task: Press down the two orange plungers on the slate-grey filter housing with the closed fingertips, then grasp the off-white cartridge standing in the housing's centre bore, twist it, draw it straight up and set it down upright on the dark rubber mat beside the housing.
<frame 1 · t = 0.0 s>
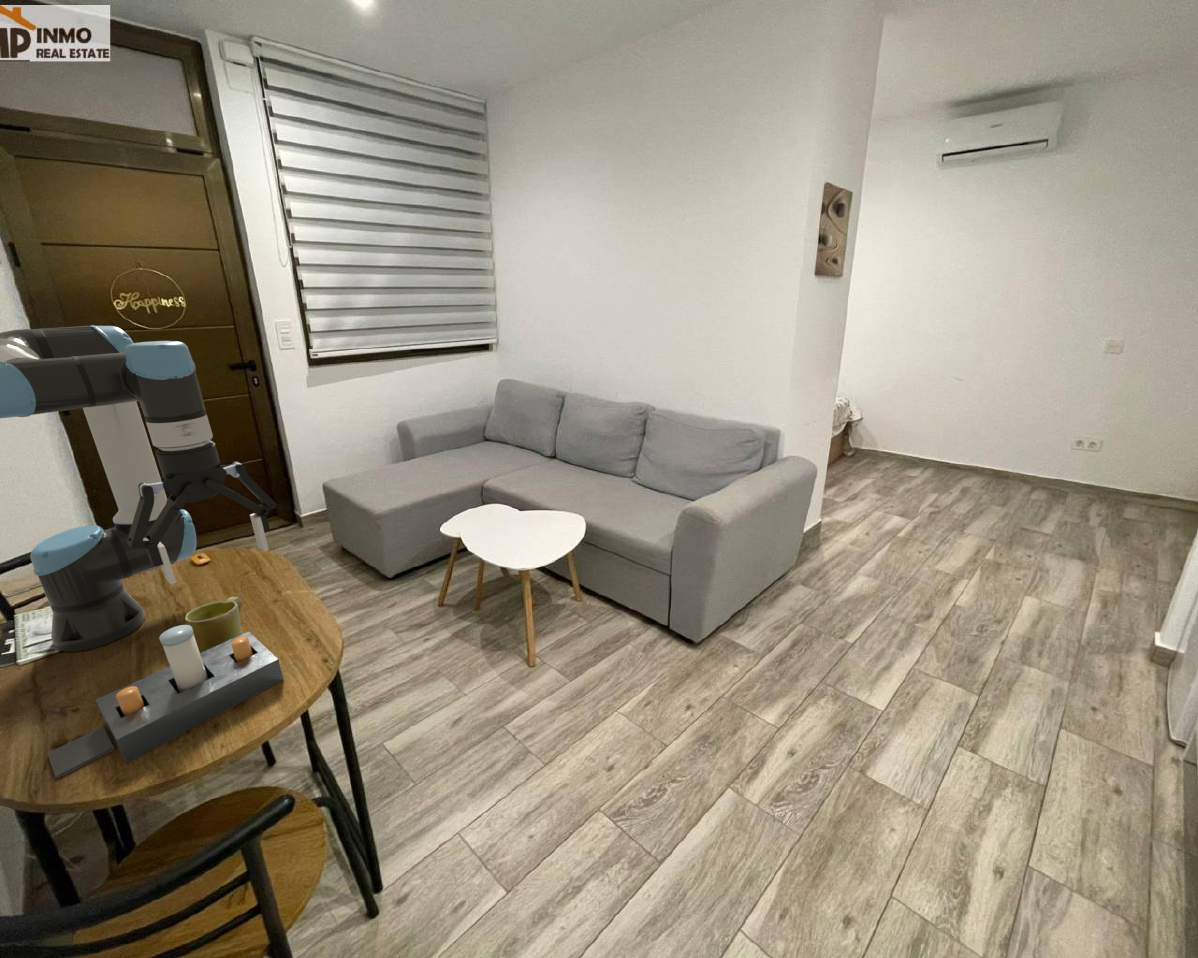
hand: (219, 564, 89), 28 cm above the table, fingers open, 13 cm apart
housing: (198, 699, 97), on the table
cartridge: (199, 699, 97), resting in housing
plunger near: (132, 705, 89), point 5 cm above the table, slide at 0.0 cm
mat: (81, 752, 86), on the table
mug: (225, 638, 115), on the table
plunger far: (243, 653, 102), point 5 cm above the table, slide at 0.0 cm
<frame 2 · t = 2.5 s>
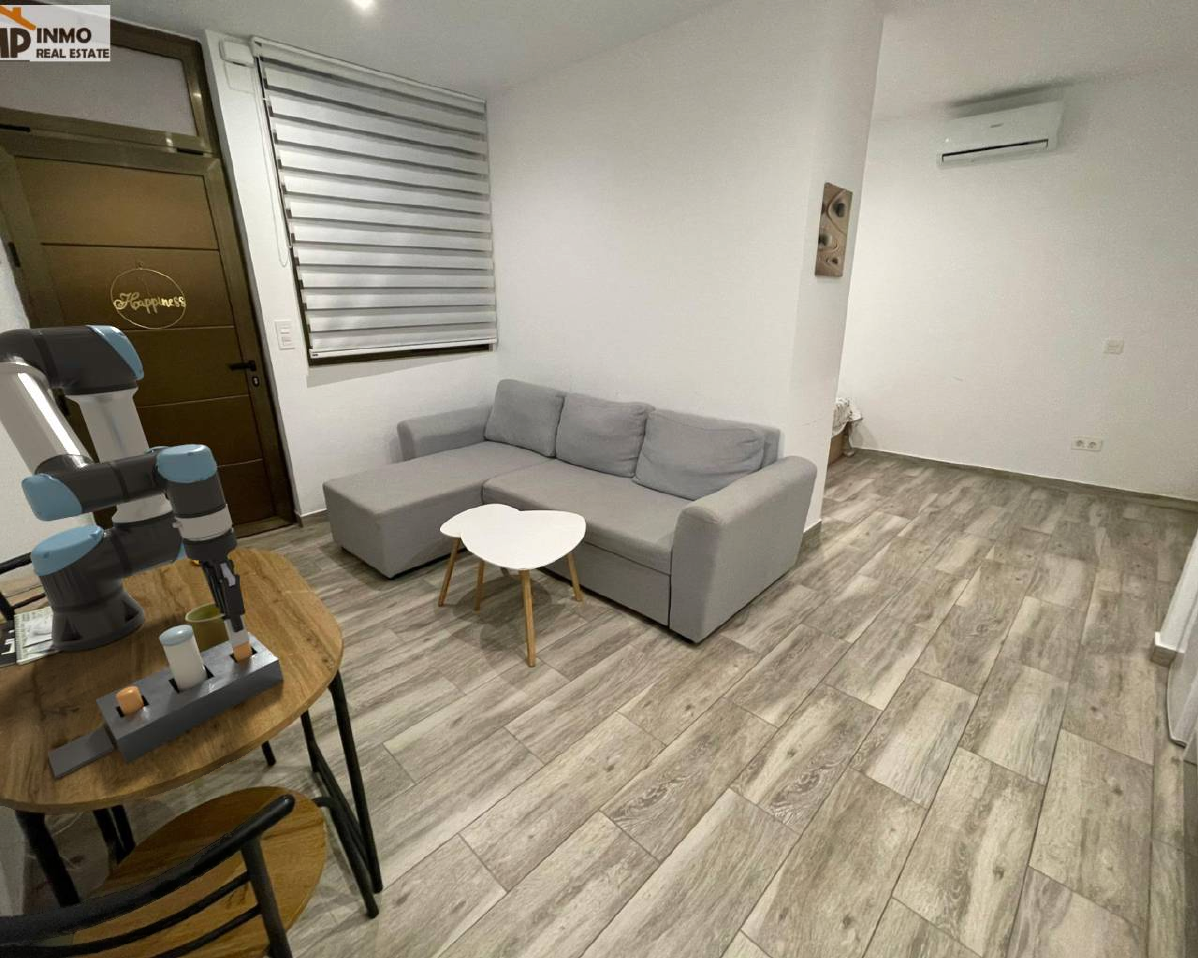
hand: (240, 642, 101), 8 cm above the table, fingers closed
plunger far: (243, 655, 102), point 5 cm above the table, slide at -0.5 cm, touching gripper
everything else where it was.
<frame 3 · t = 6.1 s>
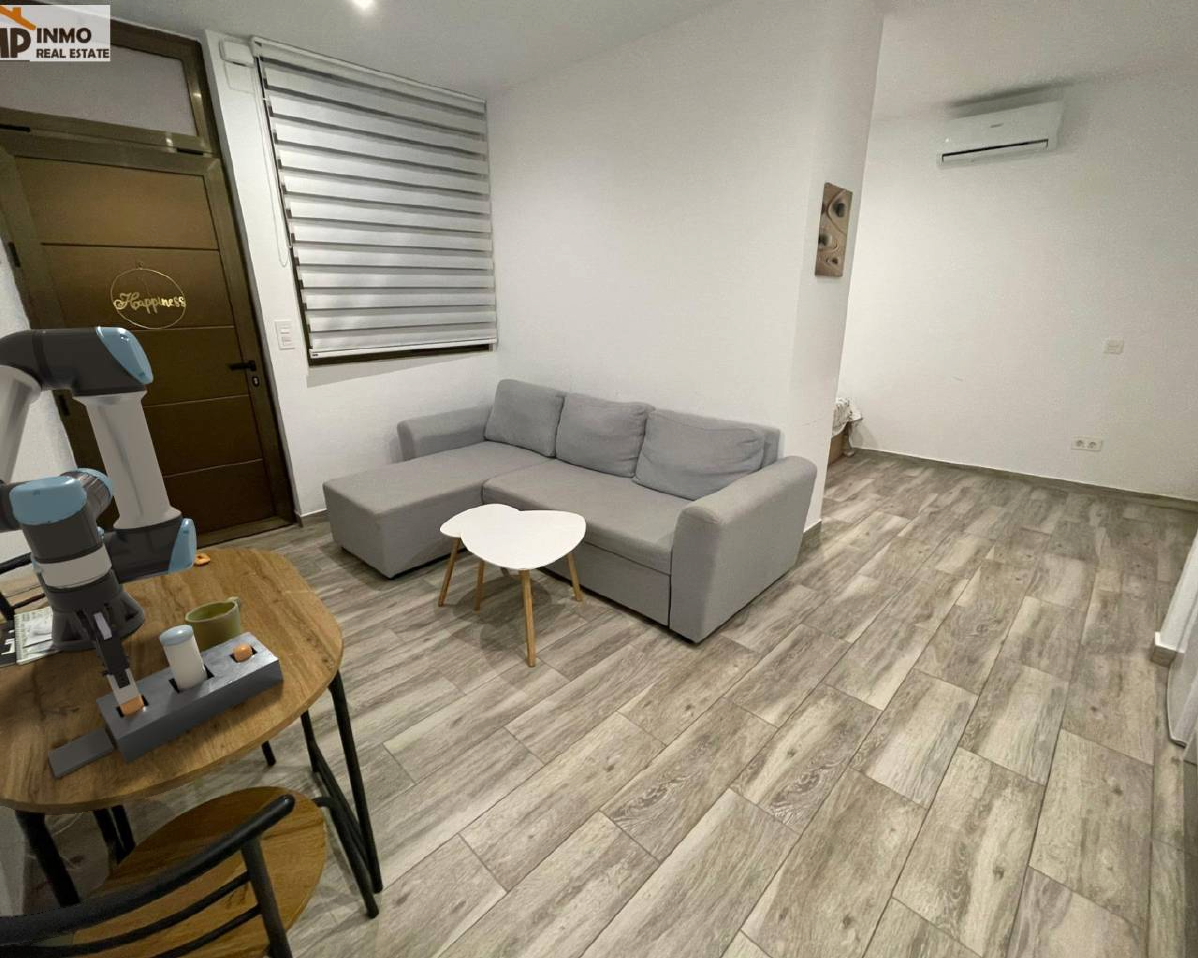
hand: (128, 698, 89), 7 cm above the table, fingers closed
plunger near: (134, 712, 90), point 4 cm above the table, slide at -1.4 cm, touching gripper
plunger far: (245, 660, 103), point 3 cm above the table, slide at -1.8 cm
everything else where it was.
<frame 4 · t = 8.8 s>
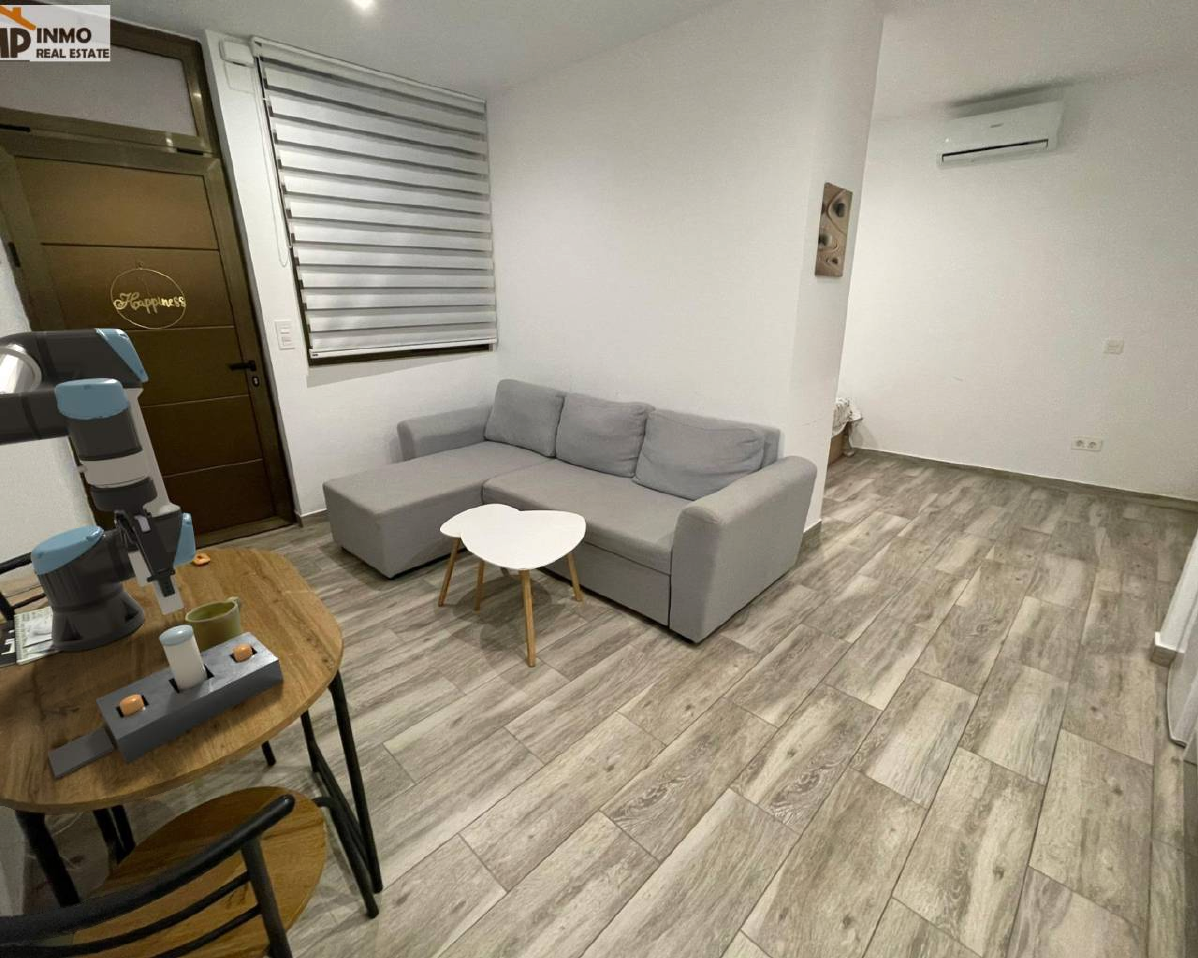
hand: (161, 596, 89), 23 cm above the table, fingers open, 13 cm apart
plunger near: (135, 713, 90), point 3 cm above the table, slide at -1.8 cm
everything else where it was.
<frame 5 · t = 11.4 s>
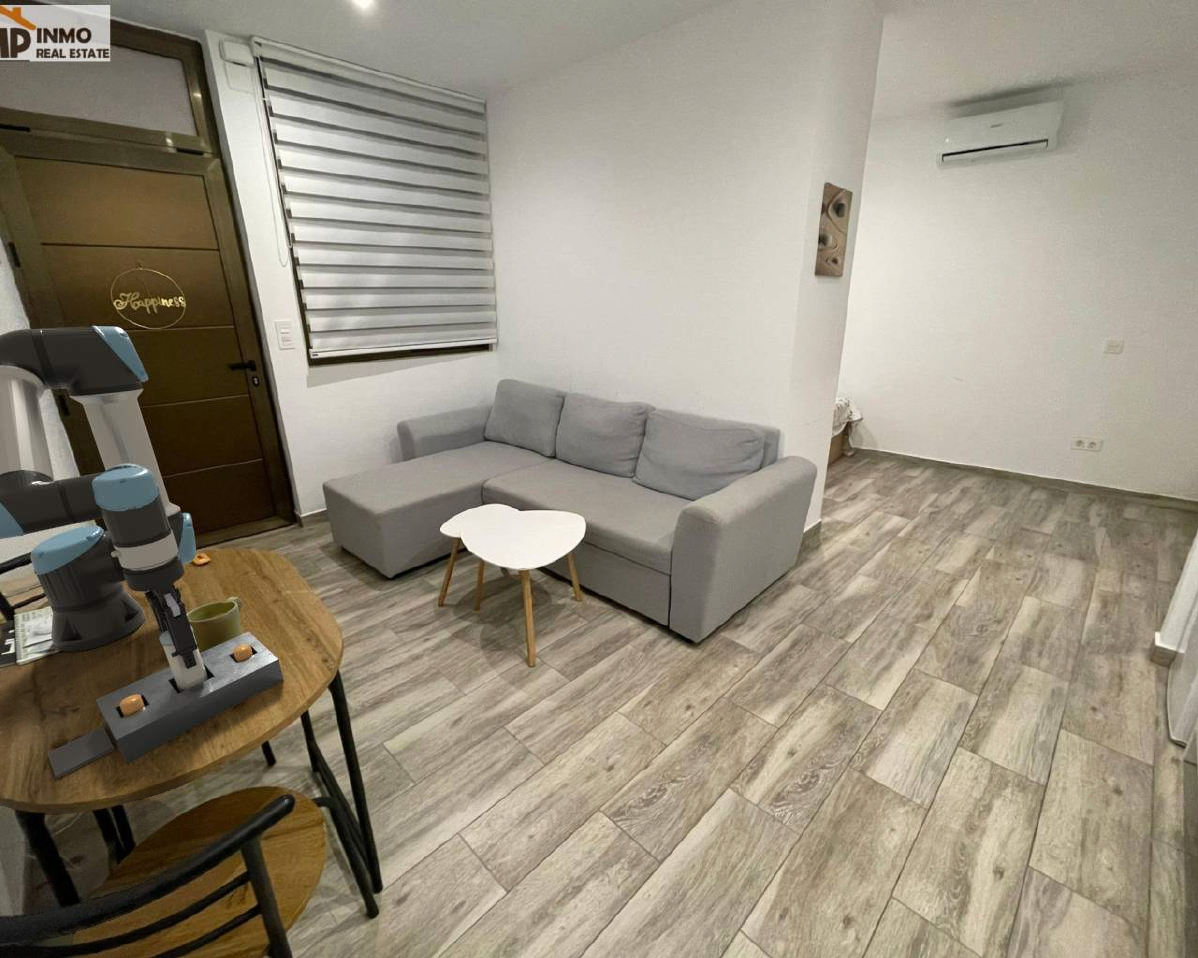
hand: (189, 673, 95), 6 cm above the table, fingers closed on cartridge, 4 cm apart
cartridge: (199, 699, 97), resting in housing, touching gripper
everything else where it was.
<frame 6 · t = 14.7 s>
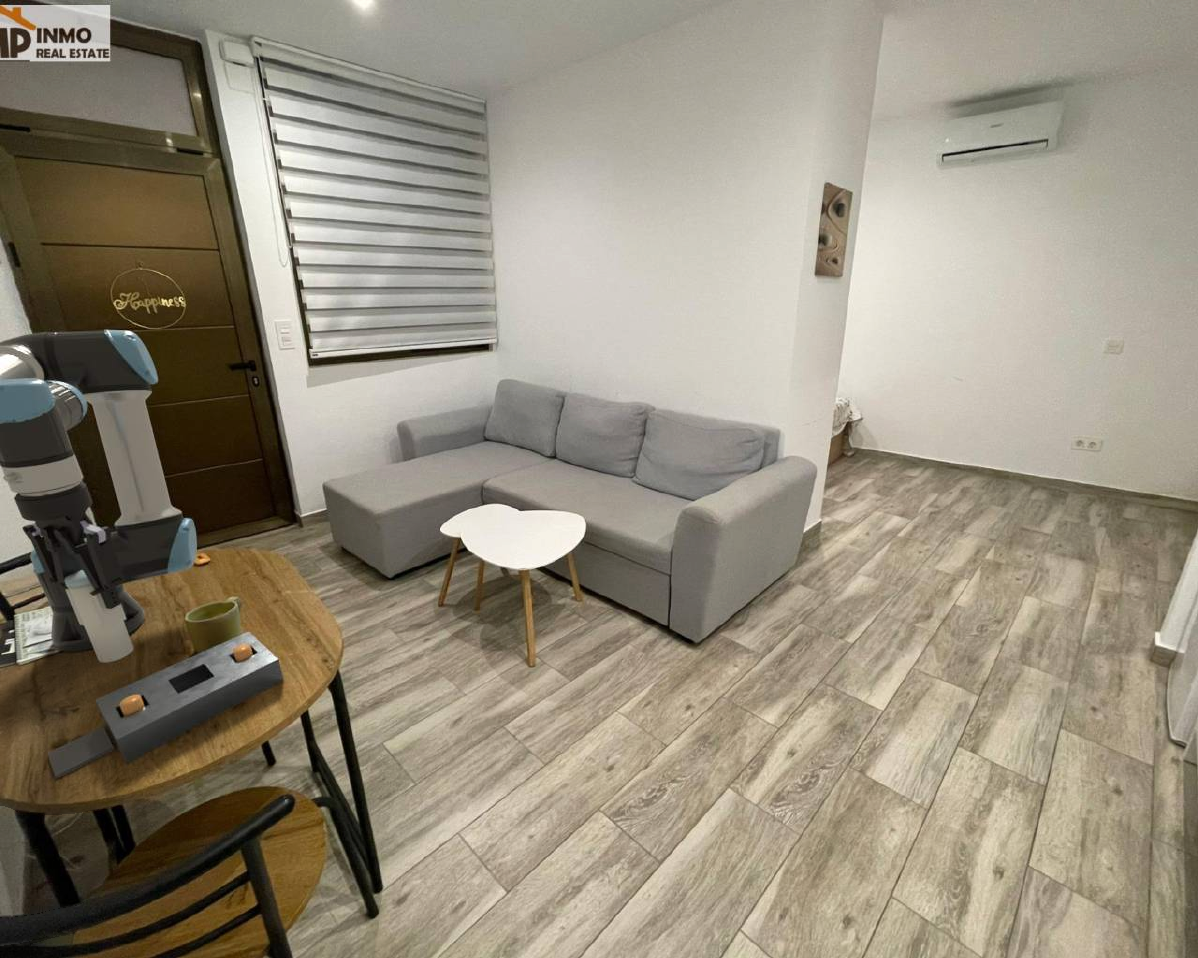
hand: (103, 621, 84), 22 cm above the table, fingers closed on cartridge, 4 cm apart
cartridge: (116, 653, 87), point 15 cm above the table, touching gripper
everything else where it was.
when the fingers open (8 cm above the table, at t = 18.0 s): cartridge drops 1 cm, resting on mat.
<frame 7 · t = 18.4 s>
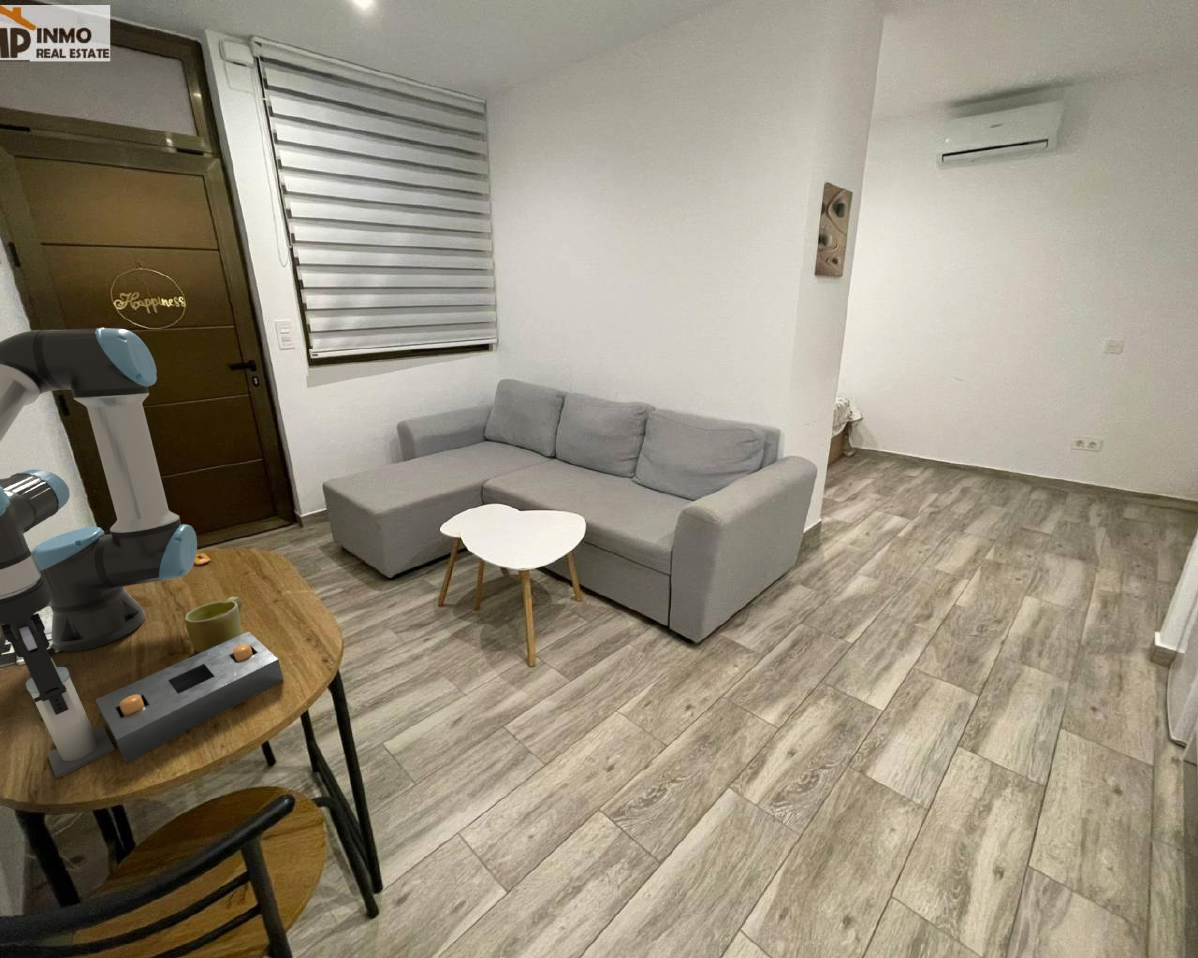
hand: (61, 709, 83), 9 cm above the table, fingers open, 10 cm apart
cartridge: (80, 749, 86), point 1 cm above the table, touching mat
everything else where it was.
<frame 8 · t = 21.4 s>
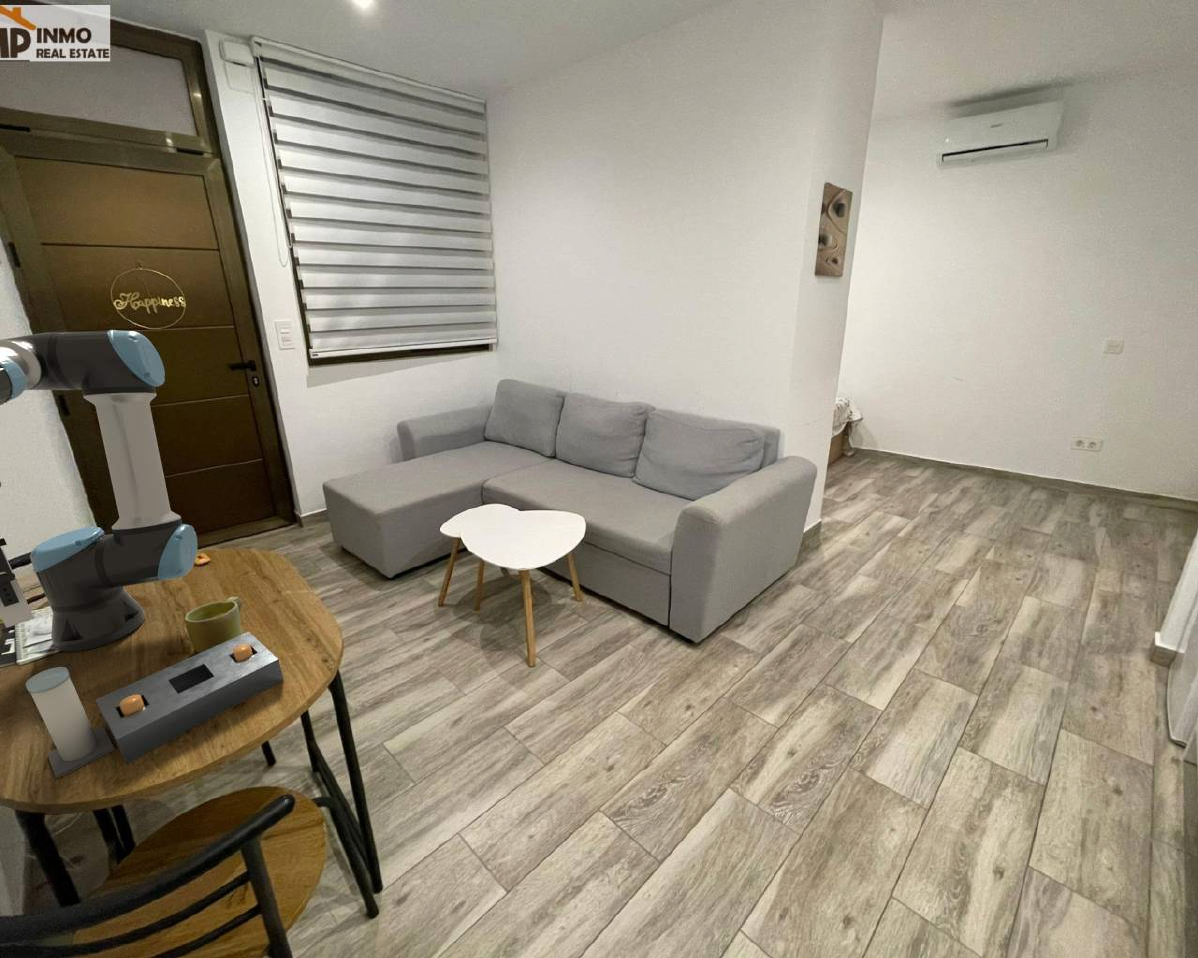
hand: (13, 605, 76), 29 cm above the table, fingers open, 13 cm apart
nothing on the table moved.
at the end: cartridge inside the target area on the mat (0.0 cm from its centre), point 0.6 cm above the mat's base; cartridge tilted 1°; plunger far slide at -1.8 cm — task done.
